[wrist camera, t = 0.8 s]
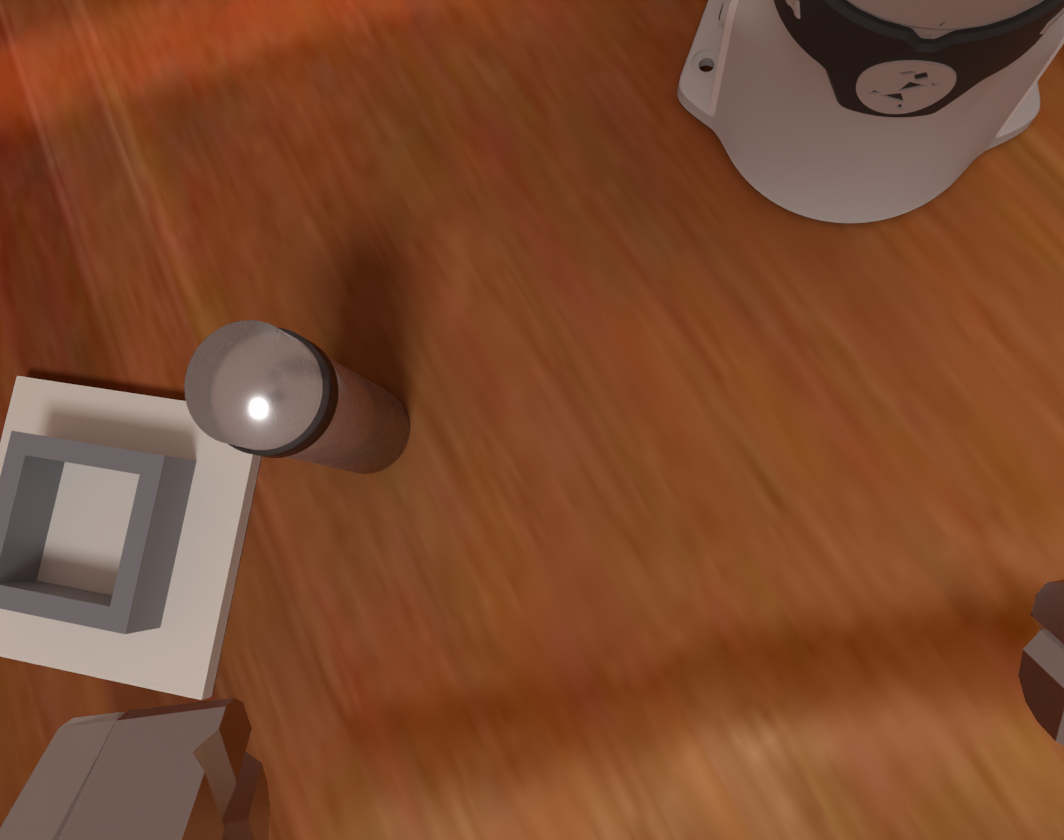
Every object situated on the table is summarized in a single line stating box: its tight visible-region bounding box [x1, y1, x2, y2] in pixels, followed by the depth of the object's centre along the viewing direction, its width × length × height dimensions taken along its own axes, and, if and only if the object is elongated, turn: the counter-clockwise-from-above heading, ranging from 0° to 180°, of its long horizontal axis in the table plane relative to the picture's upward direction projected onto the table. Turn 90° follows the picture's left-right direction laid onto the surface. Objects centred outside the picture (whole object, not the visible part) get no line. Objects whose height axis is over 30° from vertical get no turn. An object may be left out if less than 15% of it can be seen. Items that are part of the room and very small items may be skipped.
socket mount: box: [0, 376, 261, 700], centre depth 43 cm, size 16×16×4 cm
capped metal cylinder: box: [184, 320, 410, 474], centre depth 37 cm, size 5×5×14 cm
